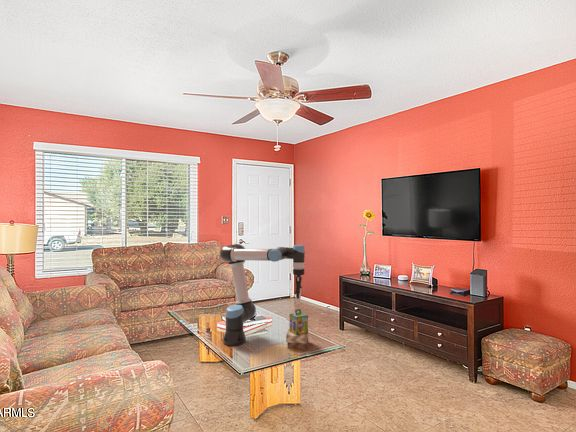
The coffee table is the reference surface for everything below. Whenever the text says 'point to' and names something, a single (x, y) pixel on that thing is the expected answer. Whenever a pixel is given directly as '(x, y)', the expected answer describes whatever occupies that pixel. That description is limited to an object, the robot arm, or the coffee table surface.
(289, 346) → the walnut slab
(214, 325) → the coffee table surface
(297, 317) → the chalk box
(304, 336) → the birch slab
